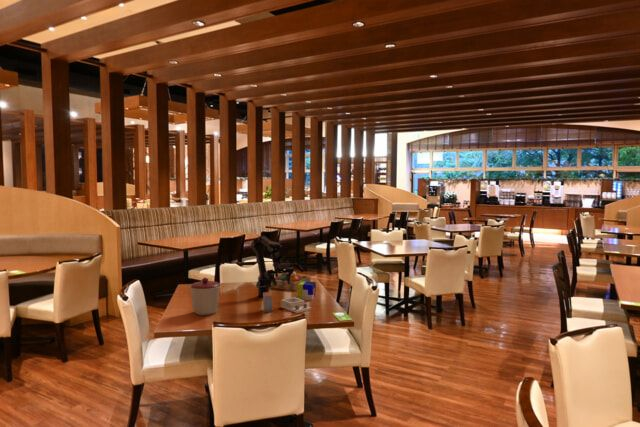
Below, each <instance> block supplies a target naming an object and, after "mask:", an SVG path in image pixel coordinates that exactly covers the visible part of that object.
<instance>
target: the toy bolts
mask: <svg viewBox="0 0 640 427" xmlns="http://www.w3.org/2000/svg"><path fill="white" fill-rule="evenodd" d="M284 270H286V269H284ZM285 275H286V274H285V273H280V275H279V276H280V277H279V278H280V279H281V281H286V280H287V279H286V276H285ZM296 275H297V273H296V271H294V272H293V273H292V274H291V276H290V281H292V282H294V281H298V277H297V276H296Z"/></svg>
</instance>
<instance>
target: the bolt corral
mask: <svg viewBox="0 0 640 427" xmlns="http://www.w3.org/2000/svg"><path fill="white" fill-rule="evenodd" d="M296 276H297V277H298V281H294V282H292V281H290V284H289V285H288V283H287V280H286V281H281V279H280V278H279V277H280V275H278V276H276V277H275V281H276V286H275V285H274V284H273V283H272V282H271V287H269V288H270V289H277V288H279V289H278V290H285V289H286V291H287V290H288V291H296V292H298V284H299V283H300V282H301V281H306V282H312V281H311V280H312V277H311V276H309V275H301V274H296Z"/></svg>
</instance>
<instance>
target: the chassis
mask: <svg viewBox="0 0 640 427" xmlns="http://www.w3.org/2000/svg"><path fill="white" fill-rule="evenodd" d="M280 308H283V309H286V310H288V311H290V312H293V313H296V314H297V313H302V312H307V311H311V310H312V307H311V306H308V303H305V300H304V299H298V297H295V296H294V297H287V298H282V299H281V300H280Z"/></svg>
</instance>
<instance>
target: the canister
mask: <svg viewBox="0 0 640 427" xmlns="http://www.w3.org/2000/svg"><path fill="white" fill-rule="evenodd" d="M221 286H222V284H221V283H219V282H218V281H213V280H209V278H207V277H203V278H202V280H201V281H196V282H193V283H192V284H190V285H189V287H188V288H189V289H190V295H191V302H192V309H193V313H194V314H196V315H198V316H210V315H214V314H215V313H216V312H217V311H218V305H219V300H220V299H219V298H220V288H221Z"/></svg>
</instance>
